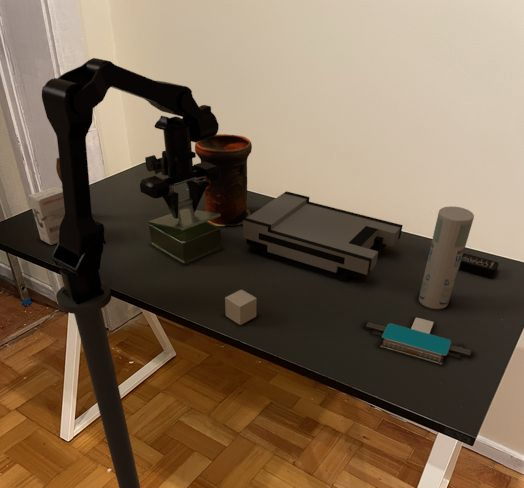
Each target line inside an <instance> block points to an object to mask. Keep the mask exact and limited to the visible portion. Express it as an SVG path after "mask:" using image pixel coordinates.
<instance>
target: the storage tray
mask: <svg viewBox="0 0 524 488" xmlns="http://www.w3.org/2000/svg"><path fill="white" fill-rule="evenodd" d="M148 227H149V236H150V243H151V246H152V247H154V248H155V249H157V250H159V251H161V253H164V255H165V254H166V255H167V256H169V257H171V258H172V259H174V260H176V261H177V262H179V263H180V264H182V265H183V266H186V265H188V264H190V263H194V262H196V261H197V260H200V259H203V258H204V257H207V256H209V255H212V254H214V253H216V252H219V251H221V250H222V231H221V230H222V229H221V227H220V226H215V225H213V224H211V223H209V222H204V223H201V224H199V225H196V226H193V227H191V228H188V229H186V230H183V231H181V230H176V229H171V228H167V227H162V226H157V225H152V224H149V223H148Z"/></svg>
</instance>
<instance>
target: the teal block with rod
mask: <svg viewBox="0 0 524 488" xmlns="http://www.w3.org/2000/svg"><path fill="white" fill-rule="evenodd" d="M434 323H435V321H432V320H427V319H424V318H420V317H415V318H414V321H413V323H412V326H411V328H409V327H405V326H402V325H398V324H395V323H390V322H389V323H387V326H385V325H382V324H377V323H374V322H370V321H368V322H367V324H366V325H365V326H366V327H365V329H366V330H371V331H372V333H371V334H372V335H375V336H379V337H381V338H382V339H383V340H382V342H381V344H380V348H382V349H385V350H388V351H392V352H394V353H398V354H401V355H406V356H409V357H411V358H415V359H418V360H423V361H426V362H430V363H432V364H436V365H438V366H439V365H440V366H442V365H443V363H444V359H445V356H449V357H452V358H456V359H460V358H461V356H462V357H466V358H470V357H471V354H472V350H471V349H467V348H465V347H462V346H457V345H453V344H452V340H451V339H449V338H445V337H442V336H438V335H435V334H431V331H432V330H433V329H432V328H433V327H434Z"/></svg>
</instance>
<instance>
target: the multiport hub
mask: <svg viewBox="0 0 524 488" xmlns="http://www.w3.org/2000/svg"><path fill="white" fill-rule="evenodd" d="M499 264H500V262H498V261H495V260H491V259H488V258H485V257H480V256H477V255H472V254H469V253H466V252H464V253H463V256H462V259H461V263H460V266H459V270H458V271H462V272H465V273H469V274H471V275H472V274H473V275H477V276H480V277H483V278H486V279H491V280H492V279H493V278H494V277H495V275H496V272H497V271H498V268H499Z"/></svg>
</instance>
